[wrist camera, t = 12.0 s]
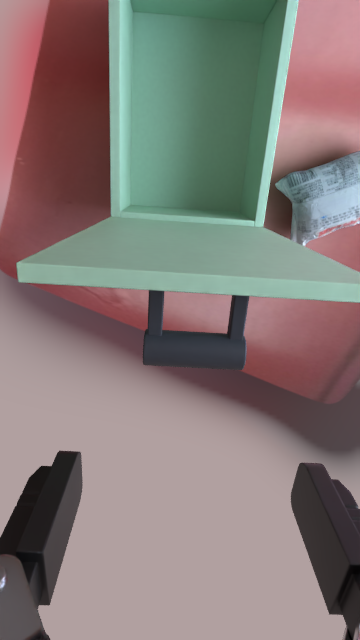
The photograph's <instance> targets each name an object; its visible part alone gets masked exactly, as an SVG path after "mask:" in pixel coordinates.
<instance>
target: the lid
mask: <svg viewBox="0 0 360 640" xmlns="http://www.w3.org/2000/svg"><path fill="white" fill-rule="evenodd" d="M16 266H17V275H18V282H22V283H39V284H56V285H72V286H89V287H106V288H122V289H139V290H149V307H148V329H146V330H145V335H144V345H143V364H144V365H154V366H173V367H192V368H212V369H231V370H242V369H243V368H244V365H245V361H246V340H245V337H244V328H245V321H246V315H247V308H248V301H249V296H255V297H272V298H289V299H305V300H322V301H338V302H355V303H360V272H358V271H355V270H353V269H351V268H349V267H347V266H345V265H343V264H341V263H339V262H336V261H334V260H332V259H330V258H328V257H326V256H324V255H322V254H319V253H317V252H315V251H313V250H311V249H309V248H307V247H305V246H302V245H300V244H298V243H296V242H294V241H292V240H290V239H288V238H286V237H283V236H281V235H279V234H277V233H275V232H273V231H271V230H269V229H266V228H264V227H252V226H238V225H223V224H208V223H193V222H179V221H164V220H149V219H134V218H120V217H109V218H107V219H105V220H103V221H101V222H99V223H97V224H95V225H93V226H91V227H89V228H87V229H85V230H82V231H80V232H78V233H76V234H74V235H72V236H70V237H68V238H66V239H64V240H62V241H60V242H58V243H56V244H54V245H52V246H50V247H48V248H46V249H44V250H42V251H40V252H38V253H36V254H33V255H31V256H29V257H27V258H25V259H23V260H21V261H19V262H17V263H16ZM164 291H172V292H189V293H205V294H222V295H232V301H231V309H230V317H229V325H228V332H227V334H223V333H205V332H187V331H169V330H162V326H163V306H164Z"/></svg>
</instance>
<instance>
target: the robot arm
mask: <svg viewBox="0 0 360 640" xmlns="http://www.w3.org/2000/svg"><path fill="white" fill-rule="evenodd" d="M81 493H82V465H81V453H80V452H73V451H59V452H58V453H57V455H56V457H55V460H54V462H53V464H52V466H41V467H40V468H39V469H38V470H37V471H36V472H35V473H34V474H33V475H32V476H31V477H30V478H29V480H28V482H27V484H26V486H25V488H24V490H23V493H22V495H21V496H20V499H19V500H18V502H17V506H16V507H15V509H14V511H13V513H12V515H11V517H10V519H9V521H8V523H7V525H6V527H5V529H4V531H3V534H2V535H1V537H0V640H50V638H49V636H48V635H47V634H46V633H45V630H44V628H43V625H42V622H41V619H40V616H39V613H38V610H37V609H38V606H39V605H50V602H51V598H52V595H53V592H54V588H55V585H56V581H57V578H58V574H59V571H60V567H61V564H62V561H63V557H64V554H65V550H66V547H67V544H68V540H69V536H70V533H71V530H72V527H73V523H74V520H75V516H76V513H77V509H78V506H79V502H80V499H81ZM291 505H292V510H293V513H294V516H295V518H296V521H297V524H298V526H299V530H300V533H301V535H302V538H303V541H304V544H305V547H306V549H307V552H308V555H309V558H310V561H311V563H312V566H313V569H314V572H315V575H316V578H317V580H318V583H319V586H320V589H321V591H322V594H323V597H324V600H325V603H326V606H327V609H328V611H329V614H339V615H343V617H344V619H345V622H346V625H347V626H346V628H345V632H344V635H343V640H360V509H358V505H357V504H356V502H355V500H354V498H353V496H352V494H351V493H350V491H349V490H347V488H346V487H345V486H344V485H342V484H341V482H340V481H339V480H333V479H331V478H330V476H329V474H328V473H327V470H326V468H325V467H324V465H322V464H318V463H300V464H299V467H298V470H297V473H296V477H295V481H294V484H293V488H292V492H291Z"/></svg>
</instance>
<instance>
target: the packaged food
mask: <svg viewBox="0 0 360 640" xmlns="http://www.w3.org/2000/svg"><path fill="white" fill-rule="evenodd" d="M275 186H276V187H277V189H278V190H279V191H281V192H282V193H283V194H284V195H285V196H286V197H288V198H289V200H290V201H291V203H292V210H293V214H292V224H291V238H290V240H292V241H294V242H296V243H298V244H300V245H302V246H305V245H306V244H307V242H309V241H310V240H313V239H316V238H319V237H322V236H324V235H327V234H329V233H330V232H333V231H335V230H337V229H340V228H343V227H344V228H345V227H348V226H354V225H355V224H358V223H360V151H358V152H355V153H352V154H349V155H346V156H344V157H342V158H339V159H336V160H333V161H331V162H329V163H327V164H323V165H320V166H317V167H314V168H311V169H308V170H306V171H296V172H292V173H289V174H287V175H286V176H285V177H283V178H282V179H281V180H279V181H278V182H277V183H276V184H275Z"/></svg>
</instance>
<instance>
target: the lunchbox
mask: <svg viewBox="0 0 360 640" xmlns="http://www.w3.org/2000/svg"><path fill="white" fill-rule="evenodd" d="M298 1H299V0H108V5H109V97H110V190H111V217H120V218H134V219H149V220H164V221H179V222H193V223H208V224H223V225H238V226H252V227H263V224H264V218H265V211H266V205H267V198H268V192H269V186H270V179H271V173H272V167H273V160H274V154H275V147H276V141H277V135H278V128H279V122H280V116H281V109H282V103H283V96H284V90H285V84H286V77H287V71H288V65H289V58H290V52H291V45H292V39H293V33H294V26H295V20H296V14H297V7H298Z"/></svg>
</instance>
